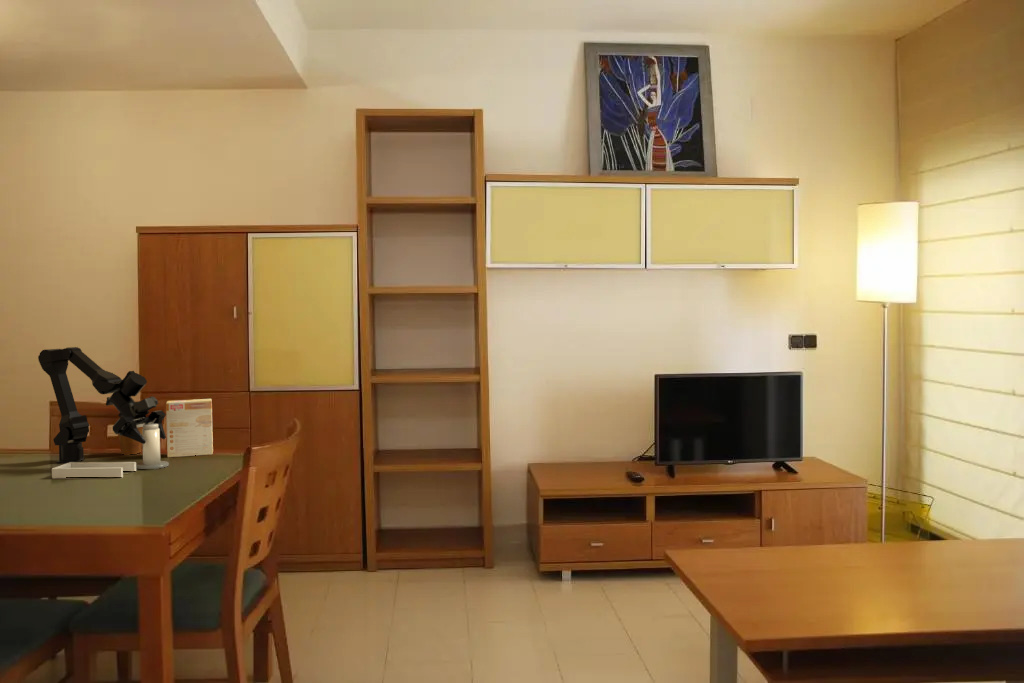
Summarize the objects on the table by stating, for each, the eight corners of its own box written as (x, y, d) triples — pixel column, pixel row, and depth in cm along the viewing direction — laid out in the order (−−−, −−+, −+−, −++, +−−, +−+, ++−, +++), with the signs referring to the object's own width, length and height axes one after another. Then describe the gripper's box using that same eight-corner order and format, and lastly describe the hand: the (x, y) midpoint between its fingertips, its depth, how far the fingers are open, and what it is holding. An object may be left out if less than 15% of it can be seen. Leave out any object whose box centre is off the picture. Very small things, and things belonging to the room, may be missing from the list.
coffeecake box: (213, 451, 290) (212, 398, 289) (212, 454, 283) (211, 400, 283) (168, 454, 285) (167, 400, 284) (167, 457, 278) (165, 402, 278)
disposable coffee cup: (137, 456, 281) (137, 422, 281) (111, 456, 281) (110, 422, 281) (150, 451, 291) (150, 418, 290) (124, 451, 291) (124, 418, 290)
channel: (52, 478, 245) (51, 468, 245) (69, 471, 255) (69, 462, 255) (121, 477, 245) (121, 468, 245) (136, 471, 255) (136, 461, 255)
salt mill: (142, 465, 259) (141, 426, 258) (143, 463, 264) (142, 423, 263) (160, 464, 261) (159, 425, 260) (160, 461, 266) (159, 422, 265)
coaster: (129, 470, 257) (129, 466, 257) (143, 463, 267) (143, 461, 267) (160, 469, 257) (160, 466, 257) (173, 463, 267) (173, 460, 267)
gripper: (118, 392, 253) (148, 428, 251) (160, 386, 271) (188, 420, 269) (99, 416, 256) (128, 451, 253) (141, 408, 274) (169, 442, 271)
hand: (155, 440), depth 261 cm, fingers open, 9 cm apart
